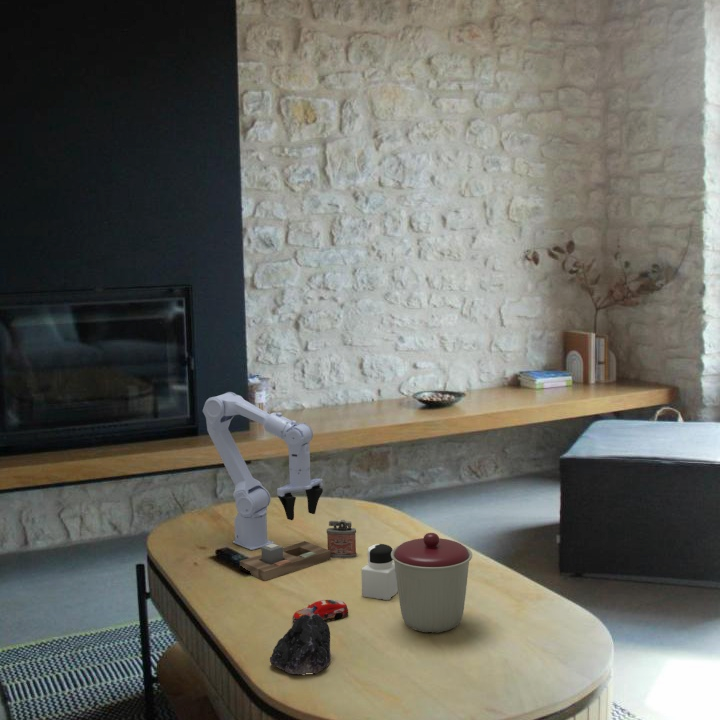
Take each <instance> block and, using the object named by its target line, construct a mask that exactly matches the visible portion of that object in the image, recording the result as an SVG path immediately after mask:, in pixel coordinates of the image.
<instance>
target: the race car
mask: <svg viewBox="0 0 720 720" xmlns="http://www.w3.org/2000/svg"><path fill="white" fill-rule="evenodd" d="M305 614H306V615H309V616H310V617H312V616H313V615H315V614H317V615H320V616H321V617H322V619H323V620H324V621H325V622H326V623H327V622H330V621H338V620H342V618H345V617H347V616H348V615H349V609H348V606H347V603H345V602H344V601H342V600H337V599H336V600H335V599H322V600H318V601H315V602H312V603H311V604H308V606H307V607H304V608H302V609H299V610H297V611H295V612H294V613H293V615H292V622H293V623H294V622H295V621H296V620H297V619H298V618H299V617H301V616H303V615H305Z"/></svg>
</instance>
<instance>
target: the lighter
mask: <svg viewBox="0 0 720 720" xmlns="http://www.w3.org/2000/svg"><path fill="white" fill-rule="evenodd" d="M328 527H329V528H327V529H326V534H327V535H326V536H327V538H326V539H327V540H326V541H327V550H330V551H331V559H332V558H333V559H334V558H335V559H352V558H353V559H354V558H356V557H358V556H357V555H358V553H357V550H356V548H357V543H356V541H357V539H356V533H357V529H356V528H354V527H352V521H347V520H345V519H340V520H329V521H328Z"/></svg>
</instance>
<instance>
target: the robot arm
mask: <svg viewBox="0 0 720 720" xmlns="http://www.w3.org/2000/svg"><path fill="white" fill-rule="evenodd" d="M202 413H203V415H204V417H205V422H206V430H207V431H206V432H207V433H208V434H209V437H210V439H211V441H212V443H213V445H214V448H216V451H217V453H218V455H219V457H220V458H221V460H222V463H223V465H224V467H225V469H226V471H227V473H228V475H229V477H230V478H231V481H232V483H233V485H234V491H233V492H232V493H233V494H232V496H233V498H234V502H235V508H236V510H237V514H236V515H235V517H234V539H235V540H233V541H232V543H233V544H235V545H238V546H240V547H243V548H245V549H248V550H250V551H254V550H257V549H261V547H264V546H266V545H269V544H275V541H272V540H269V539H268V517H267V516H268V515H267V513H268V512H267V511H268V507H269V506H270V503H271V498H272V497H271V494H270V492H269V490H267V488H265V487H264V486H263V485H262V482H261V481H259V479H256V478H254V477H253V475H252V473H251V471H250V469H249V467H248V465H247V463H246V461H245V460H244V457H243V456H242V453H241V452H240V449H239V448H238V446H237V444H236V441H235V439H234V437H233V436H232V434H231V431H230V429H229V427H230V424H231V421H232V420H233V418H234V417H235V416H239V415H240V416H242V417H245V418H246V419H248V420H251V421H253V422H256V423H258V424H260V425H263V428H264V431H266V432H267V433H269V434H271V435H272V436H273V435H274V436H275V437H277V438H279V439H280V440H282V441H284V443H285V444H286V446H287V447H288V449H287V450H288V465H289V466H288V467H289V483H287V484H285V485H283V486H280V487H278V488H276V493H277V494H276V495H277V498H278V499H279V501H280V503H281V505H282V506H283V510H284V513H285V515H286V518H287V520H289V521H293V520H294V518H295V505H296V504H295V503H296V500H297V497H296V496H293V494H294V493H297V492H298V493H299V492H301V491H305V494H306V499H307V511H308V514H311V515H315V514H316V511H317V506H318V503H319V500H320V498H321V496H322V493H324V491H323V490H324V489H323V486H324V482H323V479H322V478H313V479H312V478H311V452H310V451H311V449H310V446H311V445H310V442H311V441H312V439H313V437H314V436H313V435H314V433H313V429H312V428H311V426H309V424H307V423H306V422H299V423H297V421H296V420H294V419H293V420H292V419H289V418H287V417H285V416H283V413H282V412H280V411H279V412H272V413H268V412H267V411H264V409H261V408H259V407H258V406H256V405H254V404H253V403H252V402H249V401H248V400H245V399H244V398H243V396H241V395H239V394H236V393H235V392H232V391H226V392H225V393H222V394H220V395H217V396H212V397H211V396H210V397H209V398H208V399H206V401H205V402H204V404H203V409H202Z"/></svg>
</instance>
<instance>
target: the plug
mask: <svg viewBox="0 0 720 720" xmlns="http://www.w3.org/2000/svg"><path fill="white" fill-rule="evenodd" d="M283 548H284V546H281V545H279V544H275V543H274V544H269V545H266V546H264V547H261V548H260V549H261V554H262V562H265V563H267V564H270V565H272V564H274V563H276V562H280V561H283Z"/></svg>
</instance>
